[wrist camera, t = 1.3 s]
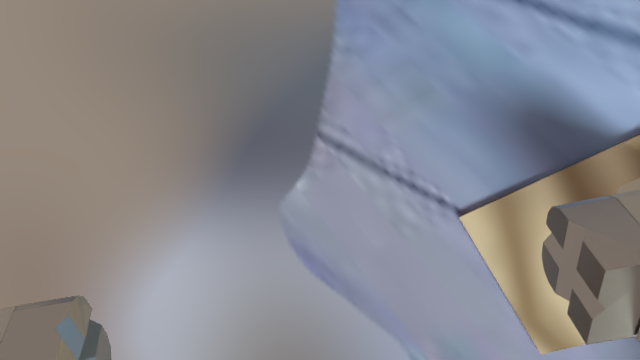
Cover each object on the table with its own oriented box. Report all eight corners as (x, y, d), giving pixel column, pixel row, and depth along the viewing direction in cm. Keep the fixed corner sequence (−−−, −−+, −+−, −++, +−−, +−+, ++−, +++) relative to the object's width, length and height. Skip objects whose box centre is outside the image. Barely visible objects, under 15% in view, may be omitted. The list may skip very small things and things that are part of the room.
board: (680, 115, 42) (679, 117, 41) (790, 293, 41) (790, 296, 41) (461, 215, 55) (459, 217, 54) (542, 351, 54) (540, 354, 54)
